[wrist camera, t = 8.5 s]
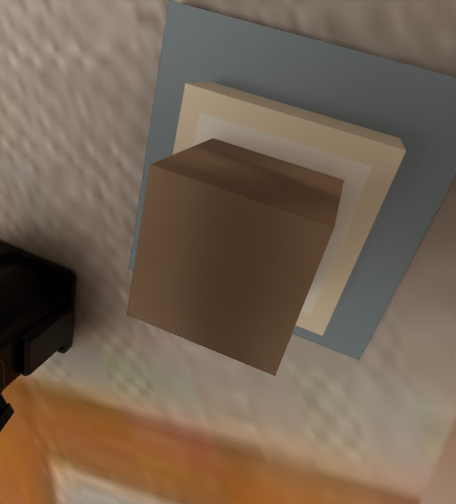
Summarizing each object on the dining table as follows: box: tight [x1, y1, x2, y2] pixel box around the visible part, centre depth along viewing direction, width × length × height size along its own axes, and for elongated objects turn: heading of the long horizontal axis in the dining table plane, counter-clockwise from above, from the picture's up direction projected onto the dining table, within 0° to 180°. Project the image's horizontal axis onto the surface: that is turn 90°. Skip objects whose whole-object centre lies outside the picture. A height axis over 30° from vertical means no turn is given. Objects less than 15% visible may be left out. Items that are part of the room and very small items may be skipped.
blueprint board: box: [129, 0, 456, 360], centre depth 17 cm, size 13×13×4 cm
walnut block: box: [127, 138, 344, 376], centre depth 14 cm, size 5×5×5 cm
